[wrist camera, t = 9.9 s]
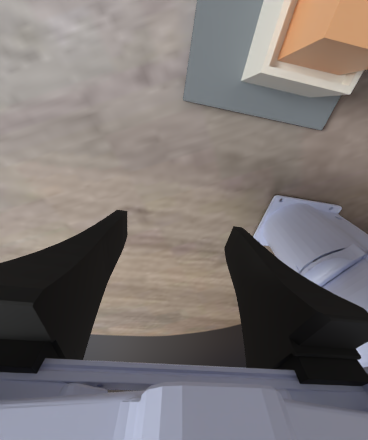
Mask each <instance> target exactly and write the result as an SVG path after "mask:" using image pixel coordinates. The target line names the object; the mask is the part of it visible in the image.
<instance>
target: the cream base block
mask: <svg viewBox="0 0 368 440" xmlns="http://www.w3.org/2000/svg"><path fill="white" fill-rule="evenodd" d="M297 1H298V0H264V1H263V5H262V8H261V12H260V15H259V19H258V22H257V26H256V29H255V33H254V36H253V40H252V44H251V47H250V51H249V54H248V58H247V61H246V65H245V68H244V72H243V75H242V79H241V81H243V82H247V83H251V84H255V85H259V86H264V87H268V88H272V89H276V90H280V91H285V92H289V93H293V94H297V95H301V96H306V97H310V98H311V97H325V96H338V95H350V94H351V92H352V90H353V89H354V87H355V85H356V83H357V82H358V80H359V78H360V76H361V75H362V73H363V71H364V70H362V71H357V72H352V73H347V74H342V75H336V74H331V73H327V72H323V71H319V70H315V69H311V68H307V67H302V66H298V65H294V64H290V63H286V62H282V61H277V59H278V56H279V53H280V50H281V47H282V44H283V41H284V39H285V36H286V33H287V30H288V27H289V24H290V21H291V18H292V15H293V13H294V10H295V7H296V4H297Z"/></svg>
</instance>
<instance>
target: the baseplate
mask: <svg viewBox="0 0 368 440" xmlns="http://www.w3.org/2000/svg"><path fill="white" fill-rule="evenodd" d="M263 1H264V0H197V5H196V12H195V19H194V26H193V33H192V40H191V47H190V54H189V61H188V68H187V75H186V82H185V89H184V96H183V100H184V101H188V102H193V103H197V104H202V105H207V106H211V107H216V108H220V109H225V110H229V111H234V112H239V113H243V114H248V115H252V116H257V117H262V118H266V119H271V120H275V121H280V122H285V123H289V124H294V125H298V126H303V127H308V128H312V129H317V130H322V129H323V127H324V125H325V123H326V122H327V120H328V118H329V116H330V114H331V113H332V111H333V109H334V107H335V105H336V104H337V102H338V100H339V98H340V96H341V95H338V96H325V97H311V98H310V97H306V96H301V95H297V94H293V93H289V92H285V91H280V90H276V89H272V88H268V87H264V86H259V85H255V84H251V83H247V82H243V81H241V79H242V75H243V72H244V68H245V65H246V61H247V58H248V54H249V51H250V47H251V44H252V40H253V36H254V33H255V29H256V26H257V22H258V19H259V15H260V12H261V8H262V5H263Z"/></svg>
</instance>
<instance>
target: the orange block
mask: <svg viewBox="0 0 368 440" xmlns="http://www.w3.org/2000/svg"><path fill="white" fill-rule="evenodd" d="M277 61H282V62H286V63H290V64H294V65H298V66H302V67H307V68H311V69H315V70H319V71H323V72H327V73H331V74H336V75H342V74H347V73H352V72H357V71H362V70H367V69H368V0H298V1H297V4H296V7H295V10H294V13H293V15H292V18H291V21H290V24H289V27H288V30H287V33H286V36H285V39H284V41H283V44H282V47H281V50H280V53H279V56H278V59H277Z"/></svg>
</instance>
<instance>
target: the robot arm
mask: <svg viewBox="0 0 368 440" xmlns="http://www.w3.org/2000/svg"><path fill="white" fill-rule="evenodd" d="M280 199H282V200H281V201H279V200H280ZM330 207H331V208H330ZM341 209H342V207H341V206H339V205H335V204H329V203H323V202H317V201H311V200H305V199H299V198H293V197H287V196H281V195H276V196H274V197H273V199H272V201H271V203H270V205H269V207H268V209H267V210H266V212H265V214H264V216H263V218H262V220H261V222H260V224H259V226H258V228H257V230H256V232H255V234H254V236H251V235H250V234H249V233H248V232H247V231H246V230H245V229H243V228H242V227H235V226H233V229H232V231H231V234H230V236H229V238H228V241H227V243H226V246H225V256H226V262H227V265H228V269H229V272H230V275H231V279H232V282H233V285H234V289H235V292H236V296H237V301H238V307H239V312H240V318H241V325H242V332H243V339H244V346H245V357H246V366H247V367H246V368H238V367H217V366H197V365H176V364H154V363H133V362H114V361H92V360H83V358H84V354H85V351H86V347H87V344H88V340H89V337H90V334H91V331H92V328H93V324H94V321H95V318H96V315H97V312H98V309H99V306H100V303H101V300H102V297H103V294H104V291H105V288H106V285H107V283H108V281H109V278H110V276H111V274H112V272H113V270H114V267H115V265H116V263H117V261H118V259H119V257H120V255H121V253H122V250H123V248H124V245H125V242H126V238H127V211H122V210H116V211H115V212H113V213H112V214H110V215H109V216H107V217H106V218H104V219H103V220H101V221H100V222H98V223H97V224H95V225H93V226H92V227H90V228H88V229H87V230H85V231H83V232H81V233H79V234H78V235H76V236H74V237H72V238H69V239H67V240H65V241H63V242H61V243H58V244H56V245H53V246H51V247H48V248H46V249H43V250H40V251H38V252H35V253H32V254H29V255H26V256H23V257H19V258H16V259H13V260H10V261H6V262H2V263H0V440H368V234H367V233H365V232H364V231H362V230H361V229H359V228H358V227H356V226H355V225H353V224H352V223H350V222H349V221H348V220H346V219H345V218H343V217H342V216H340V215H339V214H338V213H339V212H340V211H341ZM262 245H265V246H270V248H271V249H272V251H273V252H274V254H275V255H276V257H275V256H274V255H273V254H272V253H271V252H269V251H268V250H267V249H266V248H265V247H264V246H262ZM107 390H134V391H128V392H115V393H114V392H113V393H108V392H107Z"/></svg>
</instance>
